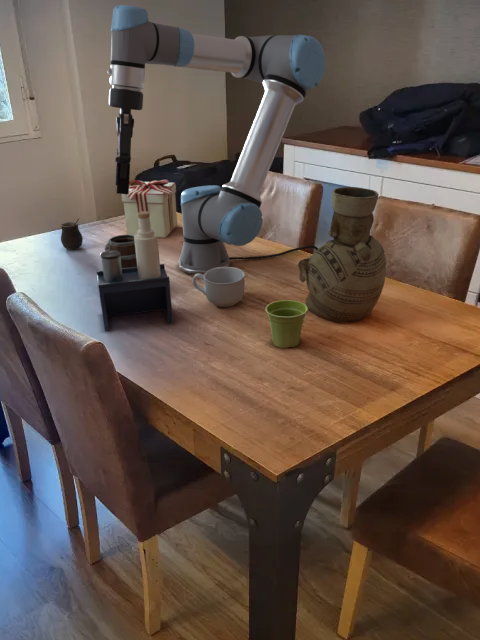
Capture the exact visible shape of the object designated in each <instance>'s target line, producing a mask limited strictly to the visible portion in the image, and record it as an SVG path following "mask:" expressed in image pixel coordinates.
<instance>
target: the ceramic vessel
mask: <svg viewBox="0 0 480 640" xmlns="http://www.w3.org/2000/svg"><path fill="white" fill-rule="evenodd" d="M378 199H379V192H378V191H376V190H374V189H369V188H364V187H357V186H344V187H337V188H334V189H333V190H332V192H331V206H332V210H333V214H332V218H331V222H330V230H329V231H328V233H327V234H328V236H329V237H330V238H333V239H330V240H327V241H326V242H325V243H324V244H323V245H322V246H320V247H318V250H316V249H315V251H314V252H313V253H312V255H310V256H308V257H307V258H303V259H301V260H299V261H298V262H297V267H298V269H299V277H298V280H299V281H300V282H301V283H306V288H307V290H308V294H307V296H306V298H305V302H304V304H305V305H306V306H307V307H308V311H309V312H310V313H312V314H313V315H315V316H316V317H319V318H321V319H323V320H325V321H329V322H333V323H337V324H352V323H357V322H360V321H363V320H364V319H366V318H367V317H368V316H369V315H370V314H371V313H372V311H373V310H374V308H375V307H376V305H377V303H378V301H379V299H380V297H381V296H382V295H381V294H382V293H383V289H384V286H385V280H386V275H387V274H386V273H387V262H386V260H387V259H386V253H385V249H384V247H383V245H382V243H380V241H379V240H378V239H376V238H375V237H374V236H373V235H371V230H372V227H373V224H374V221H375V218H374V217H375V216H374V214H373V213H374V211H375V210H376V206H377V203H378Z"/></svg>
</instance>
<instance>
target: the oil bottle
mask: <svg viewBox="0 0 480 640" xmlns="http://www.w3.org/2000/svg"><path fill="white" fill-rule="evenodd" d="M137 214H138V219H139V230H137V234H136V235H135V236H134V242H135V251H136V260H137V270H138V278H139V279H150V278H159V277H160V276H161V270H160V264H161V260H160V249H159V239H158V238H159V237H158V236H157V234H156V233H154V230H153V229H151V228H150V218H149V217H150V213H149V212H148V211H141V212H138V213H137Z"/></svg>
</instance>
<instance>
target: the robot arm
mask: <svg viewBox="0 0 480 640" xmlns="http://www.w3.org/2000/svg"><path fill="white" fill-rule="evenodd" d="M111 18H112V19H111V28H110V31H111V36H110V38H111V40H110V68H108V69H107V72H106V73H107V74H108V75H110V77H109V84H110V86H112V87H109V88H110V89H109V93H108V105H109V106H110V107H111V108H115V109H119V112H118V116H116V117H115V125H116V135H117V148H116V155H117V156H116V157H115V160H114V162H115V163H116V169H115V186H116V194H119V195H121V194H128V195H129V187H130V185H129V181H130V176H131V175H130V173H131V160H132V155H131V153H132V152H131V151H132V138H133V134H134V127H135V118H133V114H132V111H142V110H143V106H144V105H143V104H144V94H143V92H142V90H143V89H145V76H146V69H145V68H146V64H148V65H159V66H168V67H177V68H185V69H186V68H187V69H196V70H203V71H213V72H214V71H215V72H223V73H230V74H231V75H232V76H233V77H234V78H237V79H238V78H239V79H246V80H249V81H253V82H256V83H259V84H262V86H263V90H264V94H263V96H262V99H261V101H260V104H259V106H258V110H257V112H256V114H255V117H254V120H253V122H252V124H251V128H250V129H249V132H248V135H247V137H246V140H245V142H244V145H243V147H242V150H241V153H240V156H239V158H238V161H237V163H236V166H235V168H234V171H233V173H232V176H231V179H230V181H229V182H226V183H224V184H223V185H222V186H221V185H216V184H215V185H214V184H213V185H211V184H209V185H201V186H194V187H189V188H187V189H184V190H183V191H182V192H181V195H180V208H181V222H182V224H181V225H182V235H183V237H182V238H183V243H182V248H181V251H180V255H179V258H178V267H179V268H178V269H179V270H180V271H181V272H183V273H184V274H189V275H193V276H194V275H195V274H198V273H200V274H203V275H204V274H205V273H206V272H207V271H208V270H210V269H213V268H217V267H231V266H230V261H237V260H239V261H240V260H241V261H242V260H243V261H245V260H259V259H268V258H276V257H281V256H284V255H287V254H291V253H292V252H296V251H297V252H298V251H302V250H305V249H310V248H311V249H314V250H315V251H316V250H318V249H319V247H318V246H316V245H313V244H308V245H303V246H299V247H294V248H291V249H288V250H286V251H282V252H278V253H274V254H266V255H258V256H229V254H228V252H227V248H226V245H230V246H236V247H242V246H246V245H248V244H250V243H252V242H253V241H254V240H255V239H256V238H257V236H258V235H259V233H260V232H261V229H262V226H263V221H264V220H263V213H262V210H261V206H262V203H263V201H262V197H261V191H262V189H263V186H264V185H265V184H264V183H265V181H266V179H267V176H268V174H269V172H270V169H271V166H272V165H273V161H274V159H275V157H276V154H277V152H278V149H279V147H280V144H281V141H282V139H283V136H284V134H285V132H286V129H287V127H288V124H289V122H290V120H291V116H292V115H293V111H294V109H295V107H296V105H299V104H301V103H302V102H304V100H305V97H306V95H307V92H308V90H312V89H314V88H315V87H317V86H318V85H319V84H320V83H321V81H322V80H323V77H324V75H325V72H326V71H325V70H326V57H325V51H324V48H323V46H322V44H321V42H320V41H319V40H318V39H317V38H316V37H314V36H311V35H305V34H300V33H299V34H296V35H289V34H288V35H287V34H286V35H285V34H270V35H269V34H268V35H260V36H259V35H258V36H245V35H240V36H239V35H238V36H237V37H235V38H234V39H232V38H226V37H220V36H219V37H218V36H211V35H204V34H198V33H191V31H190V30H188V29H185V28H181V27H180V26H173V25H168V24H163V23H162V24H161V23H157V22H156V23H155V22H153V21H150V20H149V12H148V10H147V9H146V8H143V7H139V6H135V5H126V4H120V5H119V4H118V5H116V6H115V7H113V11H112V16H111ZM225 244H226V245H225Z"/></svg>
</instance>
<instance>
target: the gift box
mask: <svg viewBox="0 0 480 640" xmlns="http://www.w3.org/2000/svg"><path fill="white" fill-rule="evenodd" d="M176 185H177V184H176V182H170V180H168V179H161V180H156V179H155V180H152V181H143V180H129V195H128V194H120V195H121V202H122V204H123V210H124V219H125V221H124V222H125V229H126V235H133V236H135V235H136V234H137V230H139V219H138V214H137V213H138V212H141V211H148V212H149V213H150V217H149V218H150V228H151V229H153V230H154V233H156V234H157V236H158V238H161V239H162V238H163V239H165V238H167V237H168V236H169V235H170V234H171V233H172V231H173V230H174V229H175V228H176V227H177V226H178V214H177V201H176V193H177V186H176Z"/></svg>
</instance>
